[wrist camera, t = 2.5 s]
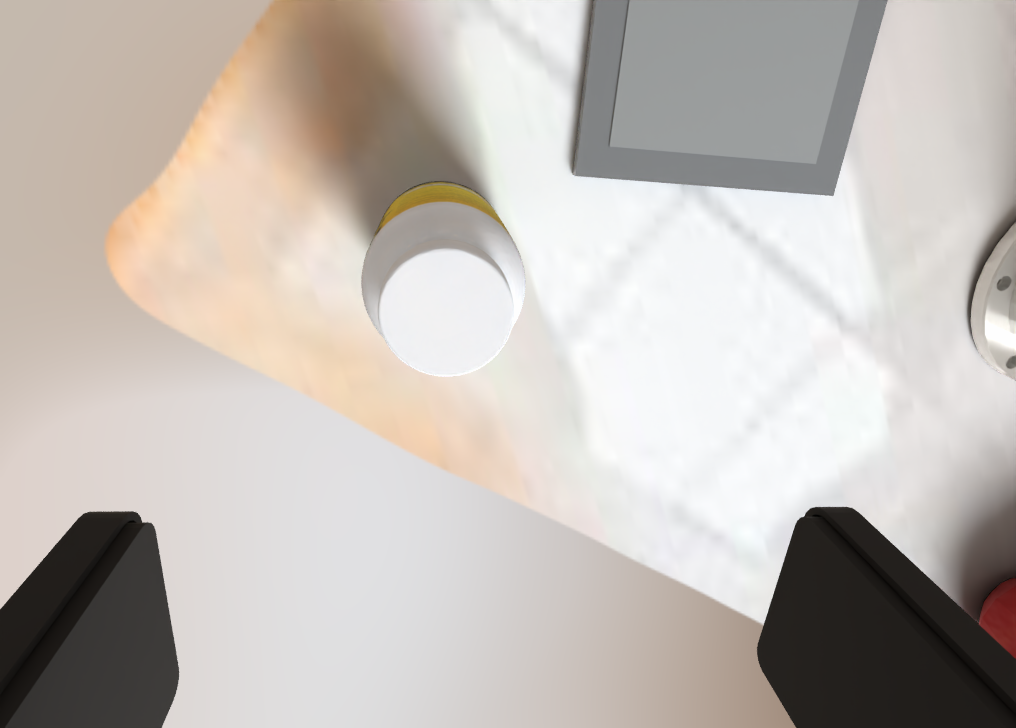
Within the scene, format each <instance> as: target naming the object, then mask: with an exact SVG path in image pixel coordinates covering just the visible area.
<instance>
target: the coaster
mask: <svg viewBox="0 0 1016 728" xmlns="http://www.w3.org/2000/svg"><path fill="white" fill-rule="evenodd" d="M886 4H887V0H593V8H592V16H591V25H590V33H589V41H588V50H587V58H586V67H585V75H584V84H583V92H582V101H581V109H580V118H579V126H578V135H577V143H576V152H575V160H574V168H573V175H575V176H584V177H597V178H610V179H622V180H635V181H648V182H661V183H674V184H687V185H700V186H713V187H726V188H738V189H751V190H764V191H777V192H790V193H803V194H816V195H829V196H833V195H834V191H835V188H836V184H837V180H838V177H839V173H840V170H841V166H842V162H843V159H844V155H845V152H846V148H847V144H848V141H849V137H850V133H851V130H852V126H853V123H854V119H855V115H856V112H857V108H858V105H859V101H860V97H861V94H862V90H863V87H864V83H865V79H866V76H867V72H868V69H869V65H870V61H871V58H872V54H873V51H874V47H875V43H876V40H877V36H878V33H879V29H880V25H881V22H882V18H883V14H884V11H885V7H886Z"/></svg>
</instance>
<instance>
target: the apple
mask: <svg viewBox="0 0 1016 728" xmlns="http://www.w3.org/2000/svg"><path fill="white" fill-rule="evenodd" d="M979 625H980V626H981V627H982V628H983V629H984V630H985V631H986V632H987V633H989V634H990V635H991V636H992V637H993V638H994V639H995V640H996V641H997V642H998V643H999V644H1000V645H1001V646H1003V647H1004V648H1005V649H1006V650H1007V651H1008V652H1009V653H1010V654H1011V655H1012V656H1013V657H1014V658H1015V659H1016V578H1012V579H1009V580H1007V581H1005V582H1002V583H1001V584H1000V585H998V586H997V587H996V588H995V589H994V590H993V591H992V592H991V593H990V594H989V596H988V597H987V598H986V600H985V601H984V603H983V607H982V610H981V613H980V619H979Z"/></svg>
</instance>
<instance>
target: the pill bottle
mask: <svg viewBox="0 0 1016 728" xmlns="http://www.w3.org/2000/svg"><path fill="white" fill-rule="evenodd" d="M525 284H526V281H525V272H524V266H523V262H522V259H521V256H520V253H519V251H518V249H517V247H516V245H515V243H514V241H513V239H512V237H511V236H510V234H509V232H508V231H507V229H506V227H505V226H504V224H503V223H502V221H501V220H500V218H499V217H498V215H497V214H496V212H495V210H494V209H493V208H492V206H491V205H490V204H489V203H488V202H487V201H486V200H485V199H484V198H483V197H482V196H481V195H479V194H478V193H477V192H475V191H473V190H472V189H470V188H468V187H465V186H463V185H460V184H457V183H452V182H445V181H435V182H428V183H424V184H420V185H417V186H415V187H413V188H411V189H409V190H407V191H406V192H404V193H403V194H401V195H400V196H399V197H398V198H397V199H396V200H395V201H394V202H393V203H392V204H391V205H390V207H389V208H388V209H387V211H386V212H385V214H384V216H383V218H382V220H381V222H380V225H379V227H378V229H377V231H376V233H375V235H374V238H373V240H372V242H371V244H370V247H369V249H368V251H367V253H366V257H365V260H364V265H363V270H362V295H363V300H364V304H365V307H366V310H367V313H368V315H369V317H370V319H371V321H372V323H373V325H374V326H375V328H376V329H377V331H378V332H379V333H380V334H381V336H382V337H383V338H384V339H385V341H386V343H387V345H388V346H389V348H390V349H391V350H392V352H393V353H394V354H395V355H396V356H397V357H398V358H399V359H400V360H401V361H403V362H404V363H405V364H407V365H408V366H410V367H412V368H413V369H416V370H418V371H420V372H423V373H426V374H429V375H434V376H458V375H463V374H467V373H469V372H472V371H475V370H477V369H479V368H481V367H482V366H484V365H485V364H487V363H488V362H490V361H491V360H492V359H493V358H494V357H495V356H496V355H497V354H498V353H499V352H500V350H501V349H502V348H503V346H504V345H505V343H506V341H507V339H508V337H509V335H510V332H511V329H512V327H513V326H514V324H515V322H516V320H517V318H518V316H519V314H520V311H521V309H522V305H523V302H524V296H525Z"/></svg>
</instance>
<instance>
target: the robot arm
mask: <svg viewBox="0 0 1016 728" xmlns="http://www.w3.org/2000/svg"><path fill="white" fill-rule="evenodd" d="M971 328H972V335H973V340H974V342H975V345H976V347H977V349H978V352H979V354H980V355H981V356H982V358H983V359H984V360H985V361H986V363H987V364H988V365H989V366H991V367H992V368H993V369H995V370H996V371H997V372H999V373H1001V374H1003V375H1005V376H1007V377H1009V378H1012V379H1014V380H1016V222H1015V223H1014V224H1013V225H1012V227H1011V228H1010V229H1009V230H1008V232H1007V233H1006V234H1005V235H1004V236H1003V238H1002V239H1001V240H1000V241H999V243H998V244H997V245H996V247H995V249H994V250H993V252H992V254H991V255H990V257H989V258H988V260H987V262H986V263H985V266H984V268H983V270H982V273H981V275H980V277H979V280H978V282H977V285H976V289H975V293H974V297H973V301H972V309H971ZM757 655H758V661H759V664H760V667H761V669H762V671H763V673H764V674H765V676H766V678H767V680H768V681H769V683H770V685H771V686H772V688H773V690H774V691H775V693H776V695H777V696H778V698H779V700H780V701H781V703H782V705H783V706H784V708H785V710H786V711H787V713H788V715H789V716H790V718H791V720H792V721H793V723H794V725H795V726H796V728H1016V659H1015V658H1014V657H1013V656H1012V655H1011V654H1010V653H1009V652H1008V651H1007V650H1006V649H1005V648H1004V647H1003V646H1001V645H1000V644H999V643H998V642H997V641H996V640H995V639H994V638H993V637H992V636H991V635H990V634H989V633H987V632H986V631H985V630H984V629H983V628H982V627H981V626H980V625H979V624H978V623H977V622H976V621H975V620H974V619H972V618H971V617H970V616H969V615H968V614H967V613H966V612H965V611H964V610H963V609H962V608H961V607H960V606H958V605H957V604H956V603H955V602H954V601H953V600H952V599H951V598H950V597H949V596H948V595H947V594H946V593H945V592H943V591H942V590H941V589H940V588H939V587H938V586H937V585H936V584H935V583H934V582H933V581H932V580H931V579H929V578H928V577H927V576H926V575H925V574H924V573H923V572H922V571H921V570H920V569H919V568H918V567H917V566H916V565H914V564H913V563H912V562H911V561H910V560H909V559H908V558H907V557H906V556H905V555H904V554H903V553H902V552H900V551H899V550H898V549H897V548H896V547H895V546H894V545H893V544H892V543H891V542H890V541H889V540H888V539H887V538H885V537H884V536H883V535H882V534H881V533H880V532H879V531H878V530H877V529H876V528H875V527H874V526H873V525H871V524H870V523H869V522H868V521H867V520H866V519H865V518H864V517H863V516H862V515H861V514H860V513H859V512H857V511H856V510H854V509H853V508H849V507H814V508H811V509H809V510H808V511H807V512H806V514H805V516H804V517H801V518H800V519H799V520H798V521H797V523H796V525H795V528H794V531H793V534H792V537H791V541H790V544H789V547H788V550H787V553H786V556H785V560H784V563H783V566H782V569H781V572H780V575H779V579H778V582H777V585H776V588H775V591H774V594H773V598H772V601H771V604H770V607H769V610H768V613H767V617H766V620H765V623H764V626H763V630H762V633H761V636H760V639H759V642H758V647H757ZM178 680H179V667H178V661H177V655H176V649H175V643H174V637H173V632H172V626H171V620H170V614H169V608H168V602H167V596H166V590H165V584H164V578H163V573H162V566H161V560H160V555H159V549H158V543H157V538H156V531H155V528H154V526H153V524H152V523H142V520H141V517H140V516H139V515H138V513H136V512H88V513H85V514H83V515H82V516H81V517H80V518H78V520H77V521H76V522H75V523H74V524H73V525H72V527H71V528H70V529H69V530H68V531H67V532H66V534H65V535H64V536H63V537H62V538H61V540H60V541H59V542H58V543H57V544H56V545H55V546H54V548H53V549H52V550H51V551H50V552H49V553H48V555H47V556H46V557H45V558H44V559H43V561H42V562H41V563H40V564H39V565H38V566H37V567H36V569H35V570H34V571H33V572H32V573H31V574H30V575H29V577H28V578H27V579H26V580H25V581H24V582H23V584H22V585H21V586H20V587H19V588H18V590H17V591H16V592H15V593H14V594H13V595H12V596H11V598H10V599H9V600H8V601H7V602H6V604H5V605H4V606H3V607H2V608H1V609H0V728H162V725H163V723H164V721H165V718H166V716H167V714H168V711H169V709H170V707H171V705H172V702H173V700H174V697H175V694H176V690H177V686H178Z"/></svg>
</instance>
